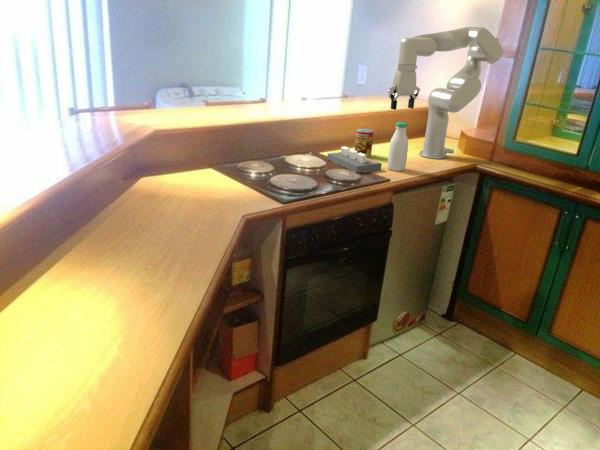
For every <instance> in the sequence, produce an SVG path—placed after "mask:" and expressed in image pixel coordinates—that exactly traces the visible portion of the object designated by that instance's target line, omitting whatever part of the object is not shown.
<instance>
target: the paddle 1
mask: <svg viewBox="0 0 600 450" xmlns="http://www.w3.org/2000/svg"><path fill="white" fill-rule="evenodd" d="M349 150H351V149H350V147H348V146H345V145H344V146H340V152H341V153H342V154H343V155H345V156H349Z"/></svg>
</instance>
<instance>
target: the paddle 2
mask: <svg viewBox="0 0 600 450" xmlns="http://www.w3.org/2000/svg"><path fill="white" fill-rule="evenodd" d="M357 161H359V162H361V163H365V162H367V158H366V154H363V153H361V152H360V153H358V154H357Z"/></svg>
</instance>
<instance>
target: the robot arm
mask: <svg viewBox="0 0 600 450" xmlns="http://www.w3.org/2000/svg"><path fill="white" fill-rule="evenodd" d="M465 48H467V49H468V50H467V56H466V62H465V65H464V66H463V67H462V68H461V69H460V70H459V71H458V72H456V73H455V74H454V75H453V76H452V77H450V78H449V80H448V81H447V83H446V88H443V87H437V88H436V87H435V88H434V89H432V90H431V91H430V93H429V95H428V99H427V100H428V101H427V104H428V106H427V107H428V111H427V112H428V116H427V121H426V129H425V135H424V142H423V147H422V148H423V149H422V150H420V151H419V153H418V154H419V156H421V157H424V158H428V159H435V160H437V159H438V160H439V159H444V158H446V157H447V154H454V152H455V150H454V149H452V148H448V147H447V148H446V147H445V144H446V137H447V132H448V126H449V118H450V117H449V113H458V112H460V111H462V110H463V109H464V108H466V106H468V104H470V103H471V102H472V101H473V100H474V99H475V98H476V97H478V96H479V93H480V92H481V89H482V81H481V79H480V76H481V72H482V68H481V67H482V63H483V62H485V63H491V64H492V63H496V62H499V61H500V60H501V58H503V57H502V56H503V53H504V48H503V45H502V44H501V43H500V41H498V39H497V37H495V36H494V35H493V33H492V32H491V31H489V30H488V29H487V28H486V27H482V26H466V27H461V28H456V29H452V30H445V31H439V32H433V33H427V34H420V35H414V36H412V37H403V38H402V39H401V40H400V45H399V54H398V62H397V63H398V64H397V71H395V74H394V77H393V81H392V85H391V87H390V88H388V89H387V94H388V97H389V98H390V99H389V100H391V101H390V109H391V110H394V111H396V110H397V106H398V98H399V97H405V96H406V97H407V96H408V97H409V98H408V104H407V108H408V109H414V107H415V100H416V99H417V97H418V96H419V93H420V91H421V88H420V87H418V86H417V72H416V70H417V69H418V66H417V58H418V57H430V56H433V55H434V54H435V52H452V51H455V50H460V49H465Z"/></svg>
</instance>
